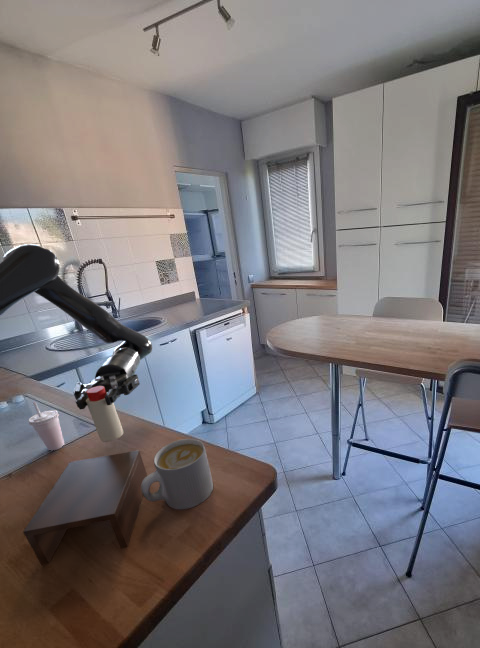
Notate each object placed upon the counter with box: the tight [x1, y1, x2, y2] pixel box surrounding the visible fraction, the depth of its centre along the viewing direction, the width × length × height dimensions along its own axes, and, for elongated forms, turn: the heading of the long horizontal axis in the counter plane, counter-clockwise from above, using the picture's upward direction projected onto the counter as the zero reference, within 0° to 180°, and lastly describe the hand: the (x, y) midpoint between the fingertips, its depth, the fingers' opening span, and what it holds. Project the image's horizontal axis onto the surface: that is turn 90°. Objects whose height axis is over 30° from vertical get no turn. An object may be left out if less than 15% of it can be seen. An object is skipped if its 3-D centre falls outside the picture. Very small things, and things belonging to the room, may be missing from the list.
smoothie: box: [28, 401, 65, 452], centre depth 88 cm, size 6×6×14 cm
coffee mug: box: [141, 438, 214, 510], centre depth 69 cm, size 13×10×10 cm
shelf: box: [22, 450, 148, 566], centre depth 65 cm, size 14×18×8 cm
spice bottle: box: [86, 386, 124, 443], centre depth 74 cm, size 5×5×12 cm
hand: (94, 403), depth 70 cm, fingers closed on spice bottle, 4 cm apart
